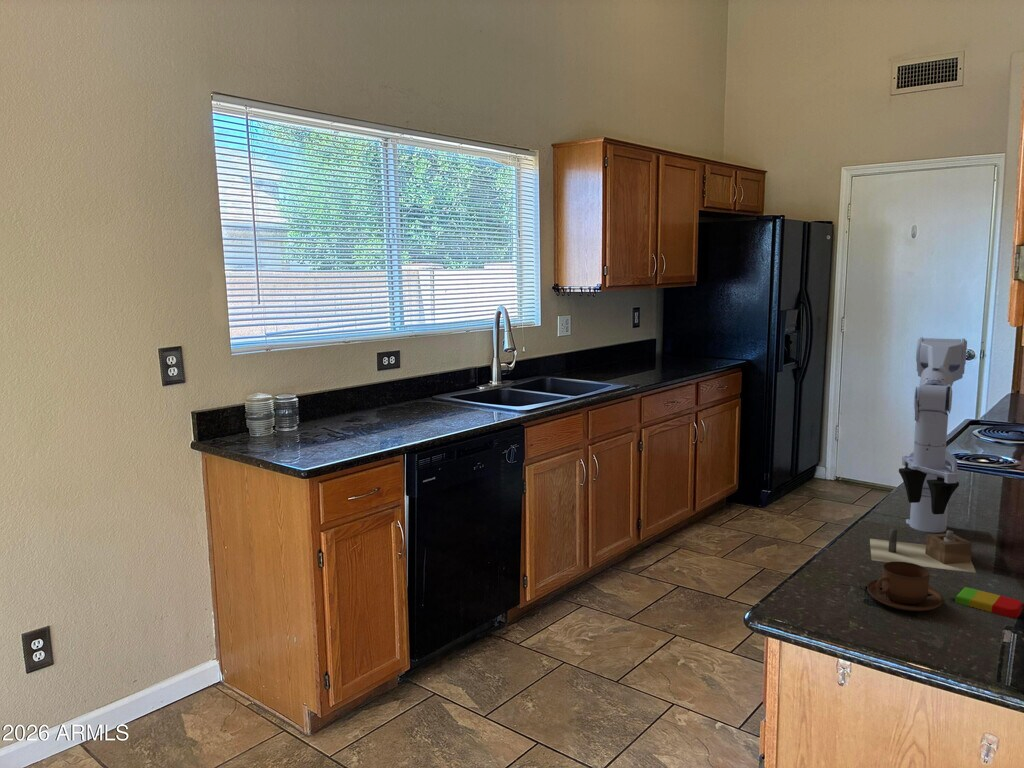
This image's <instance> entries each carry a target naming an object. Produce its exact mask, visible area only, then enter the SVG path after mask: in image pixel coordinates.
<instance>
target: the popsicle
mask: <svg viewBox="0 0 1024 768" xmlns="http://www.w3.org/2000/svg"><path fill="white" fill-rule="evenodd" d="M957 603H959V604H958V605H961V604H962V605H961V606H965V605H966V606H965V607H969V606H970V607H969V608H972V607H974V608H973V609H976V608H978V609H977V610H980V609H981V611H984V610H985V611H984V612H989V613H992V614H996V615H999V616H1004V617H1008V618H1013V619H1014V618H1018V617H1020V615H1021V613H1022V612H1023V609H1024V607H1023V606H1024V604H1023V602H1022V601H1021V600H1019V599H1016V598H1012V597H1009V596H1003V595H999V594H996V593H992V592H987V591H983V590H980V589H975V588H971V587H967V586H964V588H962V590H961V591H960V592H959V593H958V594H957V595H956V596H955V598H954V604H957Z"/></svg>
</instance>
